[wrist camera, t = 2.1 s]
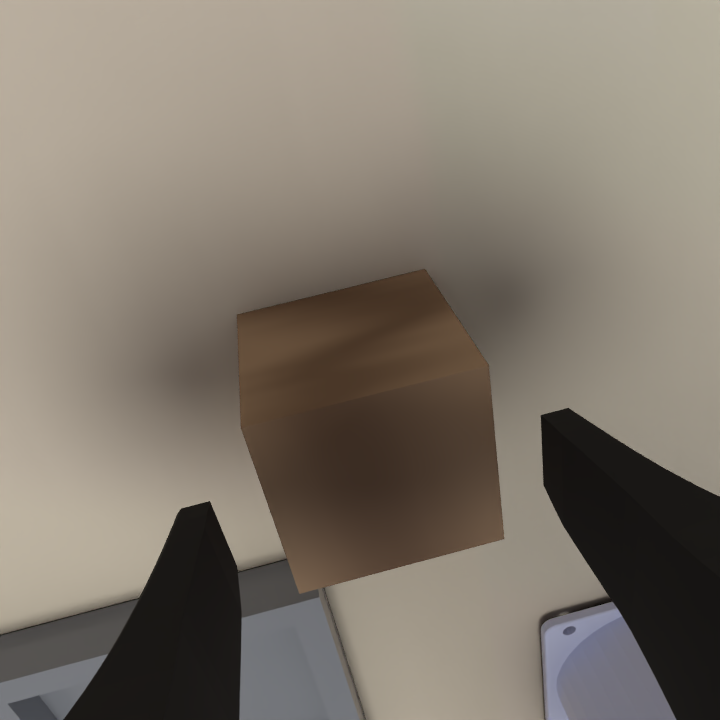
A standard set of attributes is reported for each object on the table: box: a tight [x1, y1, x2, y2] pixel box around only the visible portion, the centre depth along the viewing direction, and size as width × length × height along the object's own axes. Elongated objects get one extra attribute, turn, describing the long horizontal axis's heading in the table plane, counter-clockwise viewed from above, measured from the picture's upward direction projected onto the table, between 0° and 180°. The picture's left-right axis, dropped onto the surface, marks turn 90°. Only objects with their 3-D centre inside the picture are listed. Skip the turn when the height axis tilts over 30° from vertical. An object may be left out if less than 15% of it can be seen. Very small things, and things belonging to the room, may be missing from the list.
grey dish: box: [0, 560, 366, 720], centre depth 23 cm, size 11×11×2 cm
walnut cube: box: [237, 269, 504, 594], centre depth 16 cm, size 5×5×5 cm
